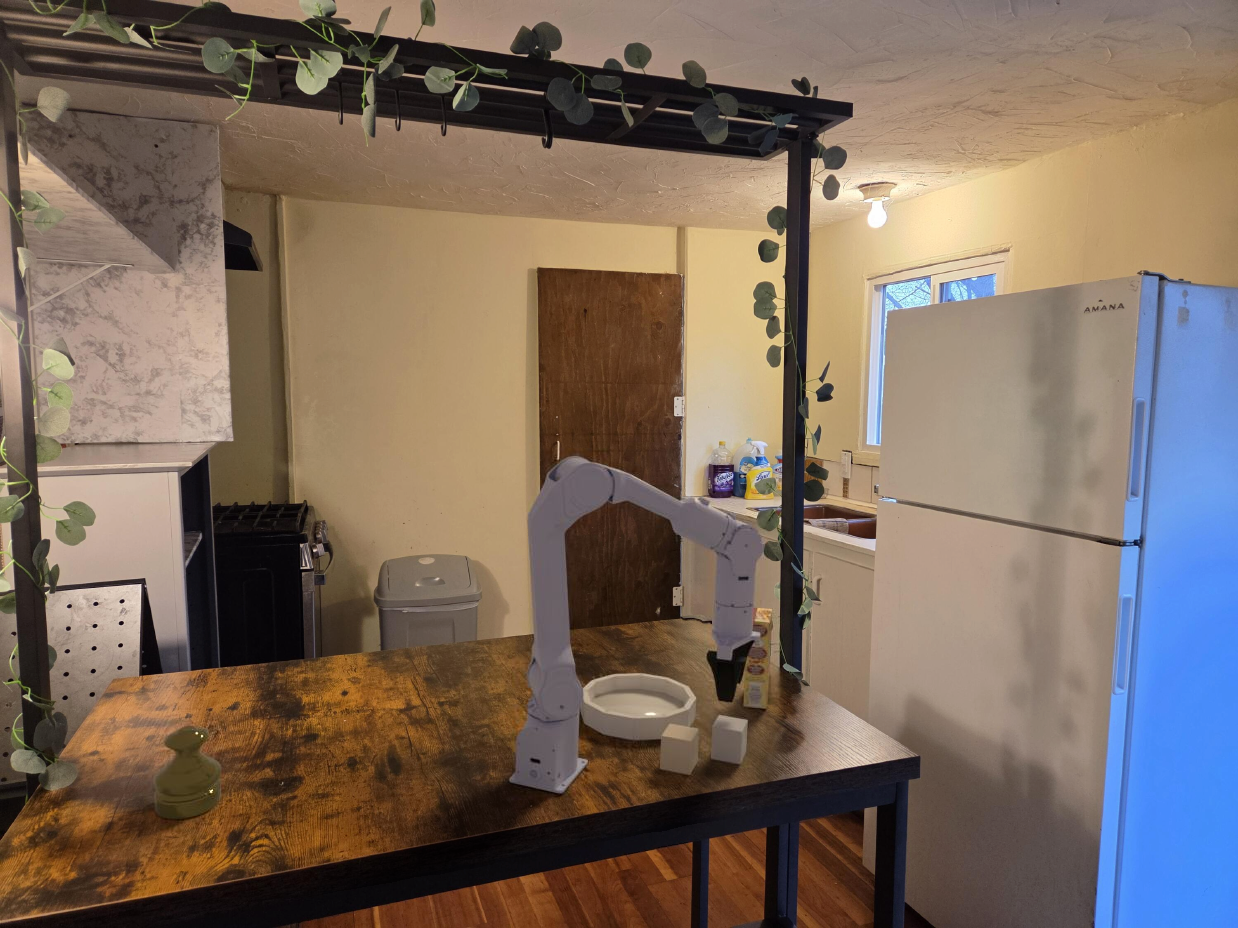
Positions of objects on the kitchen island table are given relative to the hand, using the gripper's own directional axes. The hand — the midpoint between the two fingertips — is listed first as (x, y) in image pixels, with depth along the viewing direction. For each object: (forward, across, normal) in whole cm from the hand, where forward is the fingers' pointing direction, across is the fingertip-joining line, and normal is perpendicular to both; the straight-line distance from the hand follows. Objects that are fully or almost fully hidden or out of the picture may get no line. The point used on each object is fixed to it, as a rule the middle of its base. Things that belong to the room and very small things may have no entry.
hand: (729, 691), depth 117 cm
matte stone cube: (+10, -1, 0) cm, 10 cm away
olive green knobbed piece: (+10, -39, +61) cm, 73 cm away
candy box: (+10, +22, -1) cm, 24 cm away
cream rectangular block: (+10, -7, +6) cm, 13 cm away
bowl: (+9, +8, +16) cm, 20 cm away
